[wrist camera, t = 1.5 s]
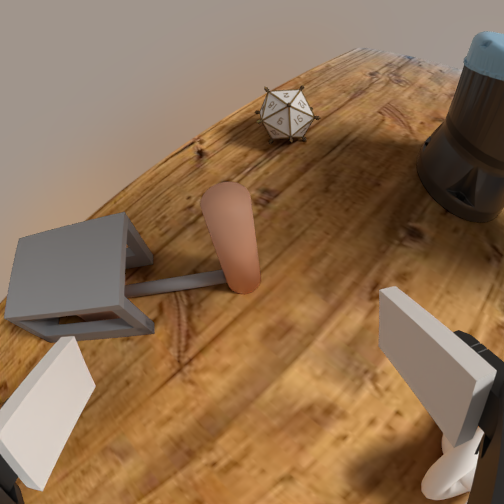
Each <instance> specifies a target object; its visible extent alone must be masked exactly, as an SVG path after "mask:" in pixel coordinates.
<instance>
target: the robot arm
mask: <svg viewBox="0 0 504 504" xmlns="http://www.w3.org/2000/svg"><path fill="white" fill-rule="evenodd" d="M417 170H418V174H419V177H420V179H421V181H422V183H423V185H424V187H425V188H426V190H427V191H428V192H429V193H430V195H431V196H432V197H433V198H434V199H435V200H436V201H437V202H438V203H439V204H440V205H441V206H443V207H444V208H445V209H447V210H448V211H450V212H451V213H453V214H454V215H456V216H458V217H460V218H463V219H465V220H469V221H473V222H488V221H491V220H493V219H494V218H496V217H497V216H498V214H499V213H500V212H501V211H502V209H503V208H504V34H500V33H496V32H488V31H486V32H481V33H478V34H477V35H476V36H475V37H474V38H473V41H472V43H471V46H470V49H469V52H468V54H467V56H466V57H465V58H464V68H463V71H462V74H461V77H460V80H459V83H458V86H457V89H456V92H455V95H454V98H453V100H452V103H451V106H450V109H449V112H448V114H447V117H446V119H445V121H444V122H443V123H442V124H441V125H440V126H439V127H438V128H437V129H436V130H435V131H434V132H433V133H432V135H431V136H430V137H429V138H428V139H427V140H426V141H425V142H424V143H423V145H422V147H421V150H420V152H419V155H418V158H417ZM379 347H380V349H381V350H382V351H383V352H384V354H385V355H386V356H387V358H388V359H389V360H390V362H391V363H392V364H393V366H394V367H395V368H396V370H397V371H398V372H399V373H400V375H401V376H402V377H403V379H404V380H405V381H406V383H407V384H408V385H409V387H410V388H411V390H412V391H413V392H414V394H415V395H416V396H417V398H418V399H419V400H420V402H421V403H422V404H423V406H424V407H425V409H426V410H427V411H428V413H429V414H430V415H431V417H432V418H433V420H434V421H435V422H436V424H437V425H438V427H439V428H440V429H441V431H442V432H443V434H444V435H445V436H446V438H447V439H448V441H449V442H450V443H451V445H452V446H453V448H455V447H457V446H459V445H461V444H463V443H465V442H467V441H469V440H471V439H473V437H474V435H475V432H476V430H477V427H478V426H479V427H480V428H481V429H482V431H483V432H484V434H483V436H482V438H481V441H480V443H479V445H478V447H477V449H476V452H475V455H477V454H478V452H479V455H478V460H477V465H476V470H475V474H474V479H473V483H472V487H471V491H470V495H469V498H468V502H467V504H504V362H503V361H502V360H501V359H499V358H498V357H497V356H496V355H495V354H493V353H492V352H491V351H490V350H489V349H488V350H487V348H486V347H485V346H484V345H483V344H480V342H479V341H478V340H476V339H475V338H474V337H473V336H471V335H470V334H467V333H464V332H462V331H459V330H458V331H455V332H452V331H450V330H449V329H448V328H447V327H446V326H444V325H443V324H442V323H441V322H440V321H438V320H437V319H436V318H435V317H433V316H432V315H431V314H430V313H429V312H427V311H426V310H425V309H424V308H422V307H421V306H420V305H419V304H417V303H416V302H415V301H414V300H412V299H411V298H410V297H409V296H407V295H406V294H405V293H404V292H402V291H401V290H400V289H398V288H397V287H396V286H394V287H389V288H385V289H381V290H379ZM95 387H96V386H95V384H94V381H93V379H92V377H91V375H90V373H89V370H88V368H87V366H86V363H85V361H84V359H83V356H82V354H81V352H80V349H79V347H78V344H77V342H76V339H75V337H74V336H69V337H61V338H60V339H59V340H58V341H57V342H56V343H55V345H54V346H53V347H52V348H51V349H50V350H49V351H48V352H47V354H46V355H45V356H44V357H43V358H42V359H41V361H40V362H39V363H38V364H37V365H36V366H35V368H34V369H33V370H32V371H31V372H30V373H29V375H28V376H27V377H26V378H25V379H24V381H23V382H22V383H21V384H20V386H19V387H18V388H17V389H16V390H15V392H14V393H13V394H12V395H11V397H9V398H8V399H7V400H6V401H5V403H4V404H3V405H2V406H1V409H0V504H24V501H23V497H22V494H21V490H20V488H19V486H18V485H17V484H16V483H15V481H16V480H17V478H18V477H19V478H20V480H21V481H22V482H23V483H24V484H25V485H26V486H27V487H28V488H32V489H35V490H39V491H43V489H44V487H45V485H46V483H47V481H48V478H49V476H50V474H51V472H52V470H53V468H54V466H55V464H56V462H57V460H58V458H59V456H60V453H61V451H62V449H63V447H64V445H65V443H66V441H67V439H68V438H69V436H70V434H71V432H72V430H73V428H74V426H75V424H76V422H77V420H78V418H79V416H80V414H81V413H82V411H83V409H84V407H85V405H86V403H87V401H88V399H89V398H90V396H91V394H92V392H93V390H94V388H95Z"/></svg>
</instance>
